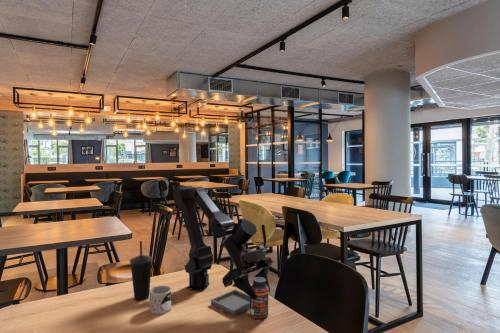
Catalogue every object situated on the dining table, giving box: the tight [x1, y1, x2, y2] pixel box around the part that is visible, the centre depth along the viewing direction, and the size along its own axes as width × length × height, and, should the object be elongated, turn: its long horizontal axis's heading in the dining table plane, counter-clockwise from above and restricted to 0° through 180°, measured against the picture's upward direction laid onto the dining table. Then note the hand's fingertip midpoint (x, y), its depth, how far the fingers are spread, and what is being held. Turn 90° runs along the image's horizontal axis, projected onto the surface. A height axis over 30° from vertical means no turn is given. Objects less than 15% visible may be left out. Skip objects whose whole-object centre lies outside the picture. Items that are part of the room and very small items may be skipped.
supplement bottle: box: [249, 277, 270, 320], centre depth 99 cm, size 6×6×11 cm
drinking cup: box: [129, 240, 153, 302], centre depth 111 cm, size 8×8×20 cm
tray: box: [210, 288, 250, 318], centre depth 106 cm, size 11×11×2 cm
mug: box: [149, 285, 172, 316], centre depth 104 cm, size 10×7×7 cm
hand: (262, 295), depth 98 cm, fingers closed on supplement bottle, 6 cm apart
